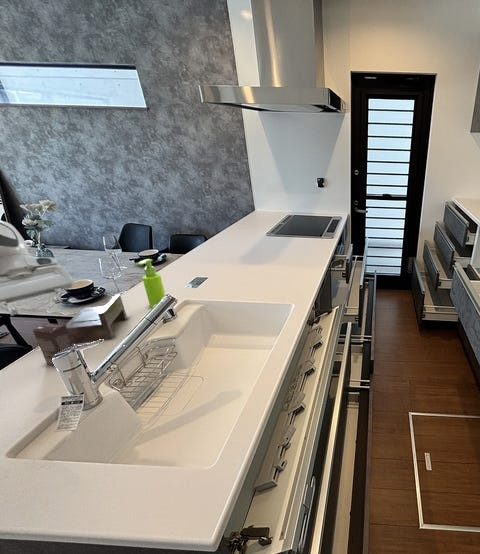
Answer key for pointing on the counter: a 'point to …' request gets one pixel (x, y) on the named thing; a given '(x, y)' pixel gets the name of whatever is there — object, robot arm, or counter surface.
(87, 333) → the dark square tray
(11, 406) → the counter surface
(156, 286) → the soap dispenser
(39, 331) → the box
